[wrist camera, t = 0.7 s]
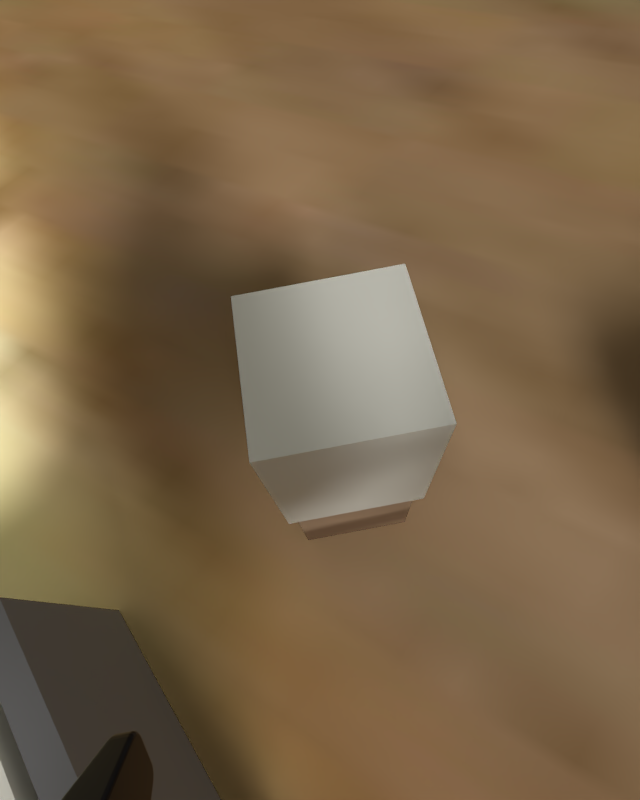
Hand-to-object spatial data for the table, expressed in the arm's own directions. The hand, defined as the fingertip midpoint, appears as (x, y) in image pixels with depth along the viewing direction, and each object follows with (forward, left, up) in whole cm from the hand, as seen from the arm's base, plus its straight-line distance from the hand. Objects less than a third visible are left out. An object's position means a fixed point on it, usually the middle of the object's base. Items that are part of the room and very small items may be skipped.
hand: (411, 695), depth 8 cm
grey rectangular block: (+7, -4, -8) cm, 11 cm away
